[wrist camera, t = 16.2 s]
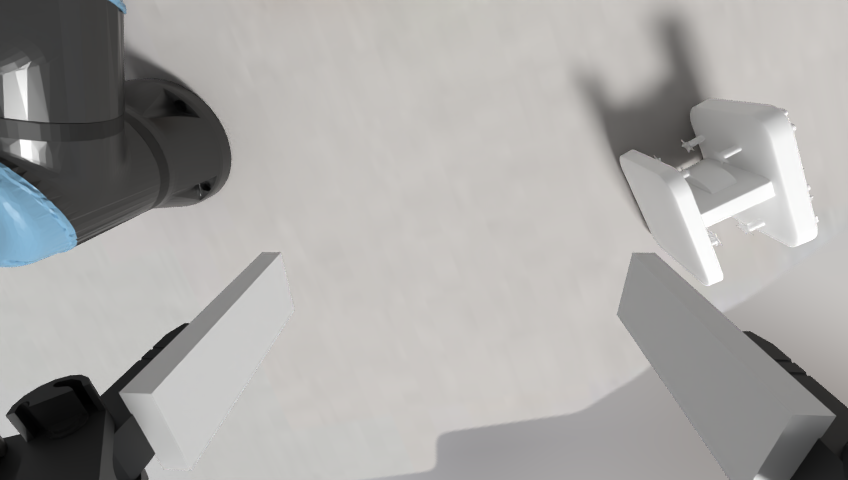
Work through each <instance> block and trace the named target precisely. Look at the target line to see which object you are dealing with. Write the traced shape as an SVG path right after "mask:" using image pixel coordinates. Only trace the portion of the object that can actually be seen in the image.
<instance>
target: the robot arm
mask: <svg viewBox="0 0 848 480" xmlns="http://www.w3.org/2000/svg"><path fill="white" fill-rule="evenodd" d="M124 14H126V6H125V5H124V4H123V1H122V0H0V267H17V266H23V265H28V264H31V263H34V262H37V261H39V260H42V259H44V258H47V257H49V256H52V255H54V254H57V253H62V252H66V251H68V250H71V249H72V248H74V247H75V246H77V245H79V244H81V243H83V242H85V241H87V240H89V239H91V238H94V237H96V236H98V235H100V234H102V233H104V232H106V231H108V230H110V229H112V228H114V227H116V226H118V225H120V224H122V223H124V222H126V221H128V220H130V219H132V218H134V217H136V216H138V215H140V214H142V213H144V212H146V211H148V210H150V209H152V208H167V207H182V206H189V205H193V204H197V203H199V202H202V201H203V200H205V199H207V198H209V197H211V196H213V195H214V194H216V193H217V192H218V191H219V190H220V189H221V188H222V187H223V186H224V184H225V182H226V181H227V178H228V176H229V173H230V168H231V151H230V146H229V142H228V139H227V136H226V134H225V131H224V129H223V127H222V125H221V124H220V122H219V120H218V119H217V117H216V116H215V114H214V113H213V112H212V111H211V110H210V108H209V107H208V106H207V105H206V104H205V103H204V102H203V101H202V100H201V99H199V98H198V97H197V96H196V95H194V94H193V93H192V92H190V91H189V90H187V89H185V88H183V87H181V86H179V85H177V84H175V83H172V82H169V81H165V80H160V79H134V80H128V81H124ZM294 311H295V309H294V305H293V301H292V296H291V292H290V288H289V284H288V280H287V275H286V271H285V267H284V263H283V259H282V254H281V252H262V253H261V254H260V255H259V256H258V257H257V258H256V259H255V260H254V261H253V262H252V263H251V264H250V265H249V266H248V267H247V268H246V269H245V270H244V271H243V272H242V273H241V274H240V275H239V276H238V277H237V278H236V279H235V280H233V281H232V282H231V283H230V284H229V285H228V286H227V287H226V288H225V289H224V290H223V291H222V292H221V293H220V294H219V295H218V296H217V297H216V298H215V299H214V300H213V301H212V302H211V303H210V304H209V305H208V306H207V307H206V308H205V309H204V310H203V311H202V312H201V313H200V314H199V315H198V316H197V317H196V318H195V319H194V320H193V321H192V322H191V323H184V324H183V325H181V326H179V327H178V328H176V329H174V330H173V331H171V332H169V333H168V334H166V335H165V336H164V337H163V338H162V339H161V340H160V341H159V342H158V343H157V344H156V345H155V346H154V347H153V349H152V350H149V351H148V352H147V353H146V354H145V355H144V356H143V357H142V360H139V361H138V362H136V363H135V364H134V365H133V366H132V367H131V368H130V369H129V370H128V371H127V372H126V373H125V374H124V375H123V376H122V377H120V378H119V379H118V380H117V381H116V382H115V383H114V384H113V385H112V386H111V387H110V388H109V389H108V390H107V391H106V392H104V393H103V394H102V395H101V396H99V394H98V392H97V391H96V389H95V387H94V386H93V384H92V383H91V381H90V379H89V378H88V377H86V376H83V375H70V376H66V377H63V378H59V379H55V380H53V381H51V382H49V383H46V384H44V385H42V386H40V387H38V388H36V389H35V390H33V391H31V392H30V393H28V394H27V395H25V396H24V397H22V398H21V399H20V400H19V401H18V402H17V403H15V404H14V405H13V406H12V407H11V409H10V410H9V412H8V413H7V415H6V417H7V418H8V419H9V420H10V422H11V423H12V424H13V425H14V427H15V428H16V429H17V430H18V432H19V433H20V434H19V435H15V436H11V437H6V438H2V437H1V436H0V480H148V475H147V473H146V471H145V469H144V468H145V467H146V465H147V464H148V463H149V462H150V460H151V459H152V458H153V456H154V455H155V456H156V458H157V460H158V462H159V463H160V465H161V467H162V469H163V470H181V471H192V470H193V468H194V466H195V465H196V463H197V462H198V460H199V459H200V457H201V456H202V454H203V452H204V451H205V449H206V448H207V446H208V445H209V443H210V441H211V440H212V438H213V437H214V435H215V434H216V432H217V431H218V429H219V427H220V426H221V424H222V423H223V421H224V420H225V418H226V417H227V415H228V413H229V412H230V410H231V409H232V407H233V406H234V404H235V403H236V401H237V399H238V398H239V396H240V395H241V393H242V392H243V390H244V389H245V387H246V385H247V384H248V382H249V381H250V379H251V378H252V376H253V374H254V373H255V371H256V370H257V368H258V367H259V365H260V364H261V362H262V360H263V359H264V357H265V356H266V354H267V353H268V351H269V350H270V348H271V346H272V345H273V343H274V342H275V340H276V339H277V337H278V336H279V334H280V332H281V331H282V329H283V328H284V326H285V325H286V323H287V322H288V320H289V318H290V317H291V315H292V314H293V312H294ZM617 315H618V317H619V318H620V320H621V321H622V323H623V324H624V326H625V327H626V329H627V330H628V331H629V333H630V334H631V336H632V337H633V339H634V340H635V342H636V343H637V345H638V346H639V348H640V349H641V351H642V352H643V354H644V355H645V356H646V358H647V359H648V361H649V362H650V364H651V365H652V367H653V368H654V370H655V371H656V373H657V374H658V375H659V377H660V379H661V380H662V381H663V383H664V384H665V386H666V387H667V389H668V390H669V392H670V393H671V394H672V396H673V398H674V399H675V401H676V402H677V403H678V405H679V406H680V408H681V409H682V411H683V412H684V414H685V415H686V417H687V418H688V420H689V421H690V423H691V424H692V426H693V427H694V428H695V430H696V431H697V433H698V434H699V436H700V437H701V438H702V440H703V442H704V443H705V445H706V446H707V448H708V449H709V450H710V452H711V453H712V455H713V456H714V458H715V459H716V461H717V462H718V464H719V465H720V467H721V468H722V470H723V471H724V472H725V474H726V475H727V477H728V478H729V480H848V408H847V407H846V406H845V405H844V404H843V403H841V402H840V401H839V400H838V399H837V398H836V397H834V396H833V395H832V394H831V393H830V392H828V391H827V390H826V389H825V388H824V387H823V386H821V385H820V384H819V383H818V382H817V381H816V380H814V379H813V378H812V377H811V376H807V375H806V372H805V371H804V370H803V369H802V368H800V367H799V366H798V365H797V364H795V363H792V362H791V359H790V358H789V357H787V356H786V355H785V354H784V353H783V352H782V351H780V350H779V349H778V348H777V347H776V346H774V345H773V344H772V343H770V342H768V341H766V340H765V339H763V338H761V337H759V336H757V335H756V334H754V333H752V332H750V331H749V332H748V331H741V330H740V329H739V328H738V327H737V326H736V325H734V324H733V323H732V322H731V321H730V320H729V319H728V318H727V317H725V316H724V315H723V314H722V313H721V312H720V311H719V310H718V309H717V308H716V307H714V306H713V305H712V304H711V303H710V302H709V301H708V300H707V299H706V298H704V297H703V296H702V295H701V294H700V293H699V292H698V291H697V290H696V289H694V288H693V287H692V286H691V285H690V284H689V283H688V282H687V281H686V280H684V279H683V278H682V277H681V276H680V275H679V274H678V273H677V272H675V271H674V270H673V269H672V268H671V267H670V266H669V265H668V264H667V263H665V262H664V261H663V260H662V259H661V258H660V257H659V256H658V255H657V254H655V253H632V257H631V261H630V265H629V269H628V273H627V277H626V281H625V285H624V289H623V292H622V296H621V300H620V304H619V308H618V312H617Z"/></svg>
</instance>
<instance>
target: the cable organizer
mask: <svg viewBox="0 0 848 480" xmlns="http://www.w3.org/2000/svg"><path fill="white" fill-rule="evenodd" d="M787 114H788V111H787V110H785V109H782V108H777V107H775V106H773V105H769V104H760V103H751V102H742V101H733V100H724V99H715V98H709V99H707V100H705V101H703V102H701V103H700V104H698V105H696V106H694V107H693V108H692V109H691V111H690V120H691V124H692V127H693V130H694V132H695V135H696V138H694V139H693V140H691V141H689V142H684V141H683V140H681V141H682V143H683V144H682V145H681V146H682V147H684V148H686V149H687V151H688V152H689V153H690V150H693V151H695V150H694V149H692V147H694V146H695V145H697V144H699V147H700V149H701V152H702V155H703V158H704V160H702V161H700V162H698V163H696V164H694V165H692V166H690V167H688V168H686V169H683V168H682V167H681V166H680V168H681V169H682V171H680V172H679V171H678V170H677V169H675V168H674V167H672V166H670V165H668V164H665V163H663V162H662V161H661V158H657V157H656V156H654V157H655V159H654V158H652V157H650V156H647V155H645V154H643V153H640V152H638V151H636V150H630V151H628V152H627V153H625V154H623V155H621V156H620V164H621V167H622V170H623V172H624V174H625V177H626V179H627V181H628V183H629V185H630V188H631V190H632V192H633V194H634V196H635V199H636V201H637V203H638V205H639V208H640V210H641V212H642V214H643V216H644V219H645V221H646V223H647V225H648V228H649V230H650V232H651V234H652V236H653V238H654V239H655V241H656V242H657V244H658V245H659V246H660V248H661V249H662V250H663V251H665V252H666V253H667V254H668V255H669V256H670V257H672V258H673V259H674V260H675V261H676V262H678V263H679V264H680V265H681V266H682V267H683V268H685V269H686V270H687V271H688V272H689V273H690V274H692V275H693V276H694V277H695V278H696V279H698V280H699V281H700V282H701V283H702V284H704V285H705V286H709V285H712V284H714V283H717V282H719V281H721V280H723V272H722V269H721V267H720V264H719V261H718V259H717V256H716V254H715V251H714V248H713V246H712V245H714V244H716V246H718V244H720V245H722V243H721V242H720V240H719V239H718V237H717V235H716V233H712V232H711V231H710V230H709V229H708V228H707V230H708V232H709V235H708V233H707V230H706V227H709V226H711V225H713V224H715V223H717V222H720V221H722V220H724V219H726V218H728V217H730V216H731V217H733V218H735V219H737V222H738V224H739V225H736V226H738V227H739V228H741V229H742V230H743V231H744V233H745V234H747V233H750V234H752V233H751V232H750V231H752V230H754V229H756V230H758V231H760V232H762V233H764V234H765V235H767V236H769V237H771V238H773V239H775V240H777V241H779V242H781V243H783V244H784V245H786V246H789V247H796V246H798V245H801V244H803V243H806V242H808V241H810V240H813V239H814V238H816V236H817V233H818V228H817V222H819V221H818V217H817V216H816V215H814V211H813V207H812V203H811V200H812V199H811V198H813V196H811V195H809V190H811V188H810V186H809V185H808V184H807V183H806V179H805V175H804V171H803V169H804V168H803V167H802V163H801V159H800V155H799V151H800V150H798V147H797V142H796V138H795V134H794V131H795V130H796V127H795V125H794V124H792V123H790V120H788V119H789V117H786V115H787ZM738 220H739V221H741V222H743V223H745V224H746V225H743V224H741V223H740V222H739V221H738ZM752 235H753V234H752ZM722 246H723V245H722Z"/></svg>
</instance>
